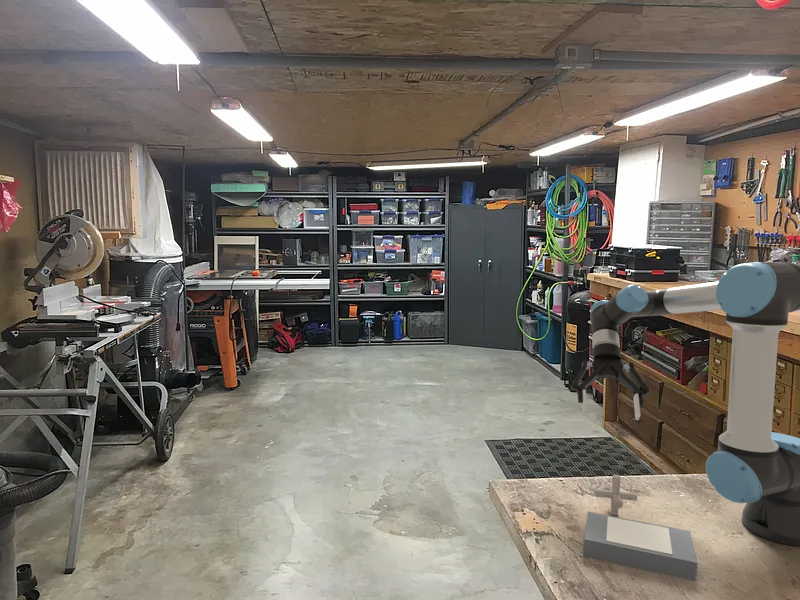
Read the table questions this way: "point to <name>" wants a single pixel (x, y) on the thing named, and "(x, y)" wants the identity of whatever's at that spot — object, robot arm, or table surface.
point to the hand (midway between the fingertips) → (611, 415)
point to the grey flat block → (640, 545)
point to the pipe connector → (615, 495)
